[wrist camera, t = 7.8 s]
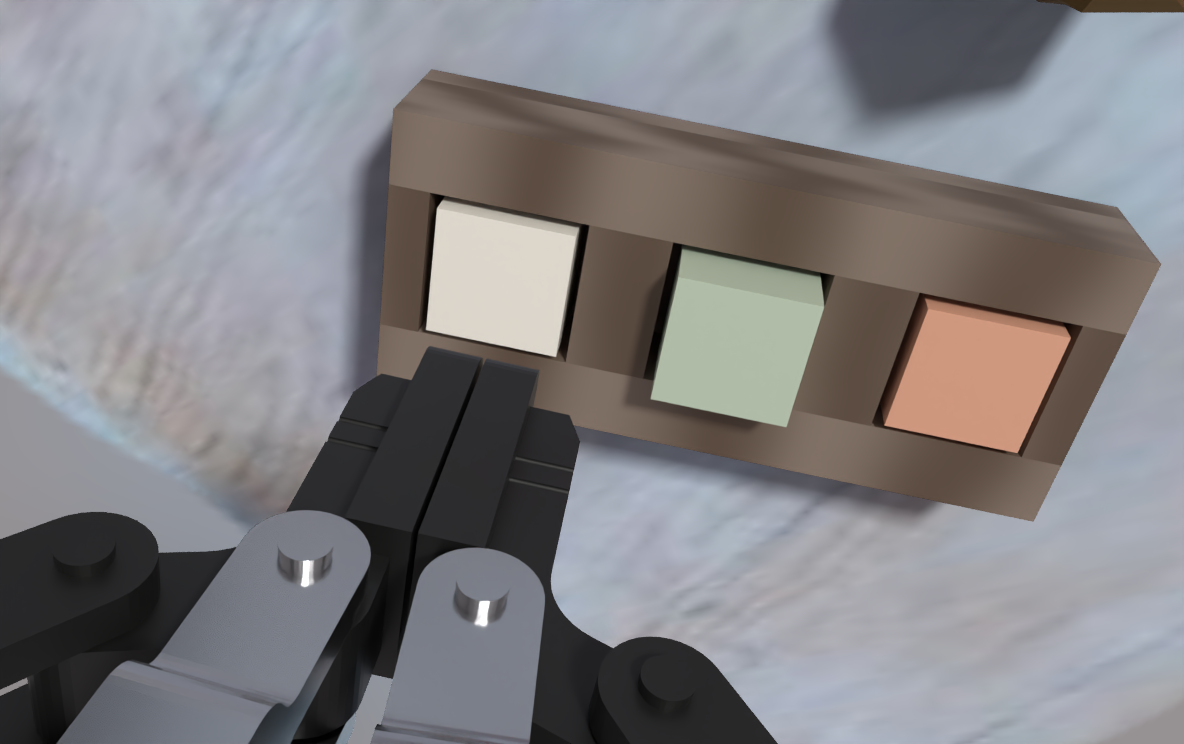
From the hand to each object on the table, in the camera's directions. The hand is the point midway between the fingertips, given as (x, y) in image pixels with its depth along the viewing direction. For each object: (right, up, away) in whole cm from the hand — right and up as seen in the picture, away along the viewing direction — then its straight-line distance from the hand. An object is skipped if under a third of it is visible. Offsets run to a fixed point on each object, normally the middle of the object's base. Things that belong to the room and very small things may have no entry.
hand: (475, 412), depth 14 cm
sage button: (+6, +3, +18) cm, 19 cm away
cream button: (-1, +5, +19) cm, 20 cm away
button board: (+6, +4, +20) cm, 21 cm away
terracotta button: (+13, +2, +19) cm, 23 cm away
